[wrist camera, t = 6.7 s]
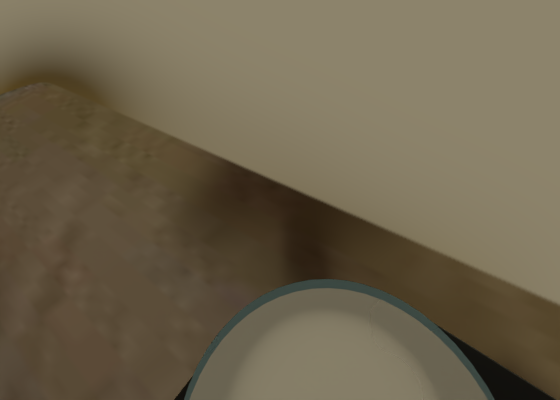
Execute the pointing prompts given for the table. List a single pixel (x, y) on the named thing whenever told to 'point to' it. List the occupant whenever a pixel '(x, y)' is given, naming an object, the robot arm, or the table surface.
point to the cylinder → (333, 350)
